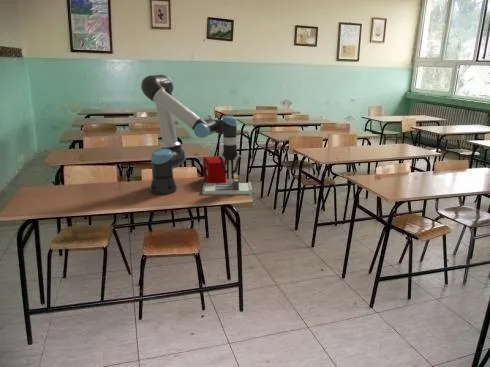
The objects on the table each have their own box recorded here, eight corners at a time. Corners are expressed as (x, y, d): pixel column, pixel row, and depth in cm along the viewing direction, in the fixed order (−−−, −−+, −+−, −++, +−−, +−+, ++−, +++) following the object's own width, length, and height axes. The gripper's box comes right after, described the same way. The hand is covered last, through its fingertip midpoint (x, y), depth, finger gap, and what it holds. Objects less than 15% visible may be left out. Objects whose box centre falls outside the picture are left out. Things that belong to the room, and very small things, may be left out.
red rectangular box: (203, 178, 257) (202, 155, 253) (219, 177, 260) (219, 154, 256) (208, 185, 242) (208, 161, 238) (225, 184, 245) (225, 160, 241)
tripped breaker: (233, 186, 232) (233, 177, 231) (233, 184, 235) (233, 176, 234) (238, 186, 232) (238, 177, 231) (238, 184, 235) (238, 176, 234)
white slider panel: (202, 194, 227) (202, 181, 224) (203, 186, 241) (203, 174, 239) (251, 194, 228) (252, 181, 226) (250, 186, 242) (250, 173, 240)
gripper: (218, 145, 222) (218, 186, 229) (241, 145, 223) (241, 185, 230) (218, 142, 230) (219, 182, 237) (241, 142, 230) (241, 182, 237)
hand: (230, 184), depth 233 cm, fingers closed
